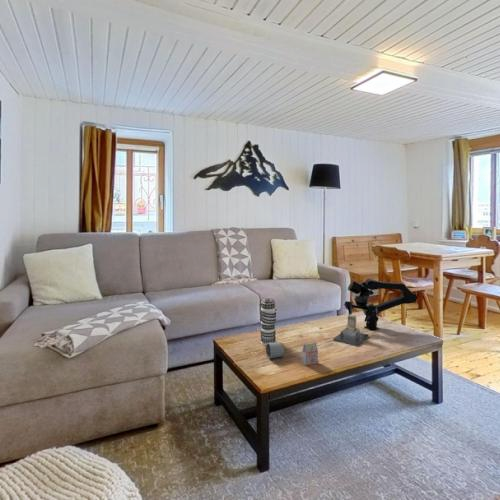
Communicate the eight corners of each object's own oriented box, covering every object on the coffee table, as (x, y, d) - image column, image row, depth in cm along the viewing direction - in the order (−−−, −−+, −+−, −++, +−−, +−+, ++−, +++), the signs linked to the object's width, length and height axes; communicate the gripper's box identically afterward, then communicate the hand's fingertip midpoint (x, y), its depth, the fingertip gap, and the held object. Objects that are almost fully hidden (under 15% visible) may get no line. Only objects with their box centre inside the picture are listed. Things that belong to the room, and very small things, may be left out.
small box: (301, 362, 161) (302, 343, 160) (313, 360, 163) (313, 340, 162) (305, 366, 158) (306, 346, 156) (317, 363, 160) (318, 343, 159)
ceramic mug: (285, 358, 165) (286, 344, 164) (270, 361, 162) (270, 346, 162) (277, 350, 175) (277, 336, 174) (263, 352, 172) (262, 338, 172)
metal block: (349, 334, 193) (350, 314, 191) (355, 336, 191) (356, 315, 189) (347, 336, 190) (347, 315, 188) (353, 338, 188) (354, 317, 186)
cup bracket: (345, 330, 202) (345, 322, 201) (368, 336, 193) (369, 327, 192) (333, 340, 188) (333, 331, 187) (357, 346, 179) (358, 336, 178)
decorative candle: (262, 338, 191) (262, 296, 188) (278, 340, 188) (278, 297, 185) (257, 344, 182) (257, 300, 179) (273, 346, 179) (274, 302, 176)
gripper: (345, 288, 202) (338, 310, 195) (377, 292, 191) (370, 316, 184) (349, 297, 210) (342, 319, 202) (380, 302, 199) (374, 325, 191)
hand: (357, 319), depth 195 cm, fingers open, 9 cm apart
